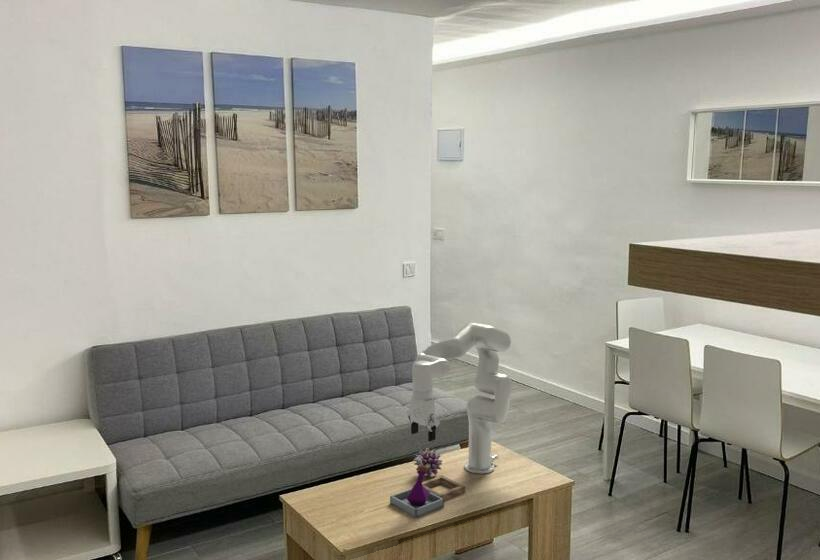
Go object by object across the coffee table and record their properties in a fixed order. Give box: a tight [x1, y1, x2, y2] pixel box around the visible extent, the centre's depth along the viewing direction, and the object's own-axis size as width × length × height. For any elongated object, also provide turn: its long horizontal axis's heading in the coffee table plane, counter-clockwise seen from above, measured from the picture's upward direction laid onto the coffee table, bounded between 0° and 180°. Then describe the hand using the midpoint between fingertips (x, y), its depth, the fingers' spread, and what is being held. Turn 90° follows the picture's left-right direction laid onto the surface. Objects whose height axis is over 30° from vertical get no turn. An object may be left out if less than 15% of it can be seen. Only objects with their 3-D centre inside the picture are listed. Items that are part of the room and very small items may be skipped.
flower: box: [413, 447, 443, 478], centre depth 306 cm, size 12×12×12 cm
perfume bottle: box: [407, 457, 430, 506], centre depth 279 cm, size 8×8×18 cm
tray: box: [389, 487, 445, 518], centre depth 281 cm, size 14×15×3 cm
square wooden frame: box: [422, 474, 466, 501], centre depth 292 cm, size 14×14×2 cm
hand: (423, 436), depth 282 cm, fingers open, 9 cm apart
